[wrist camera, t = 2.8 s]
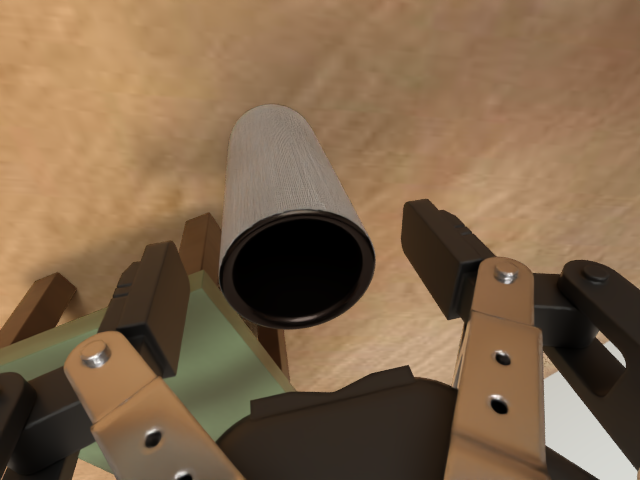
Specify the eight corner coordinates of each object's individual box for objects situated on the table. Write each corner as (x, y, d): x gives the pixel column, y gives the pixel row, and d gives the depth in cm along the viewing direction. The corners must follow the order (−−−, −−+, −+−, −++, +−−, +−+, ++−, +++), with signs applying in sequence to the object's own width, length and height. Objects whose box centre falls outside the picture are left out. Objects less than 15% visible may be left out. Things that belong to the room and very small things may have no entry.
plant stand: (21, 278, 20) (-66, 391, 14) (212, 202, 19) (201, 288, 14) (149, 379, 27) (125, 480, 21) (290, 326, 26) (304, 415, 21)
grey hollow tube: (316, 102, 17) (388, 204, 9) (314, 184, 20) (367, 322, 11) (223, 103, 16) (206, 216, 8) (233, 189, 19) (228, 340, 11)
